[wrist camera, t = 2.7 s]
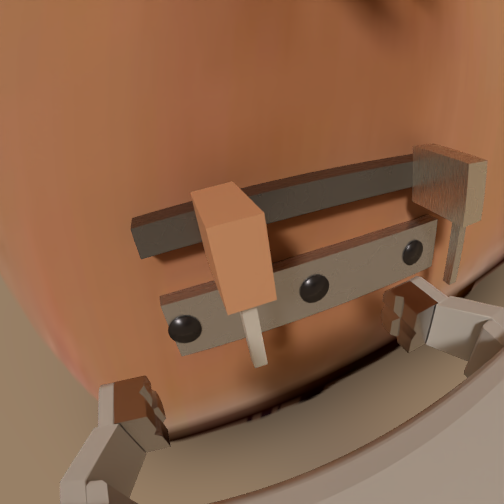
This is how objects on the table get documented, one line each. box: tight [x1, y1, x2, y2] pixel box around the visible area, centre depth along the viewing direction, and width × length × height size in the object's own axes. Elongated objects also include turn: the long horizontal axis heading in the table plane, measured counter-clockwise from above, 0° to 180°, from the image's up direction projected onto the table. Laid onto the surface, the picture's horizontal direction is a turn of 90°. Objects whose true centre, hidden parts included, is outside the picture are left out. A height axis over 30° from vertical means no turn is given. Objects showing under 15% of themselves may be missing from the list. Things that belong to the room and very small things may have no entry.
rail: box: [131, 144, 487, 285], centre depth 19 cm, size 24×10×7 cm, turn 100°
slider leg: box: [190, 181, 277, 368], centre depth 17 cm, size 2×10×5 cm, turn 10°
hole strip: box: [160, 215, 438, 356], centre depth 24 cm, size 24×5×1 cm, turn 100°
